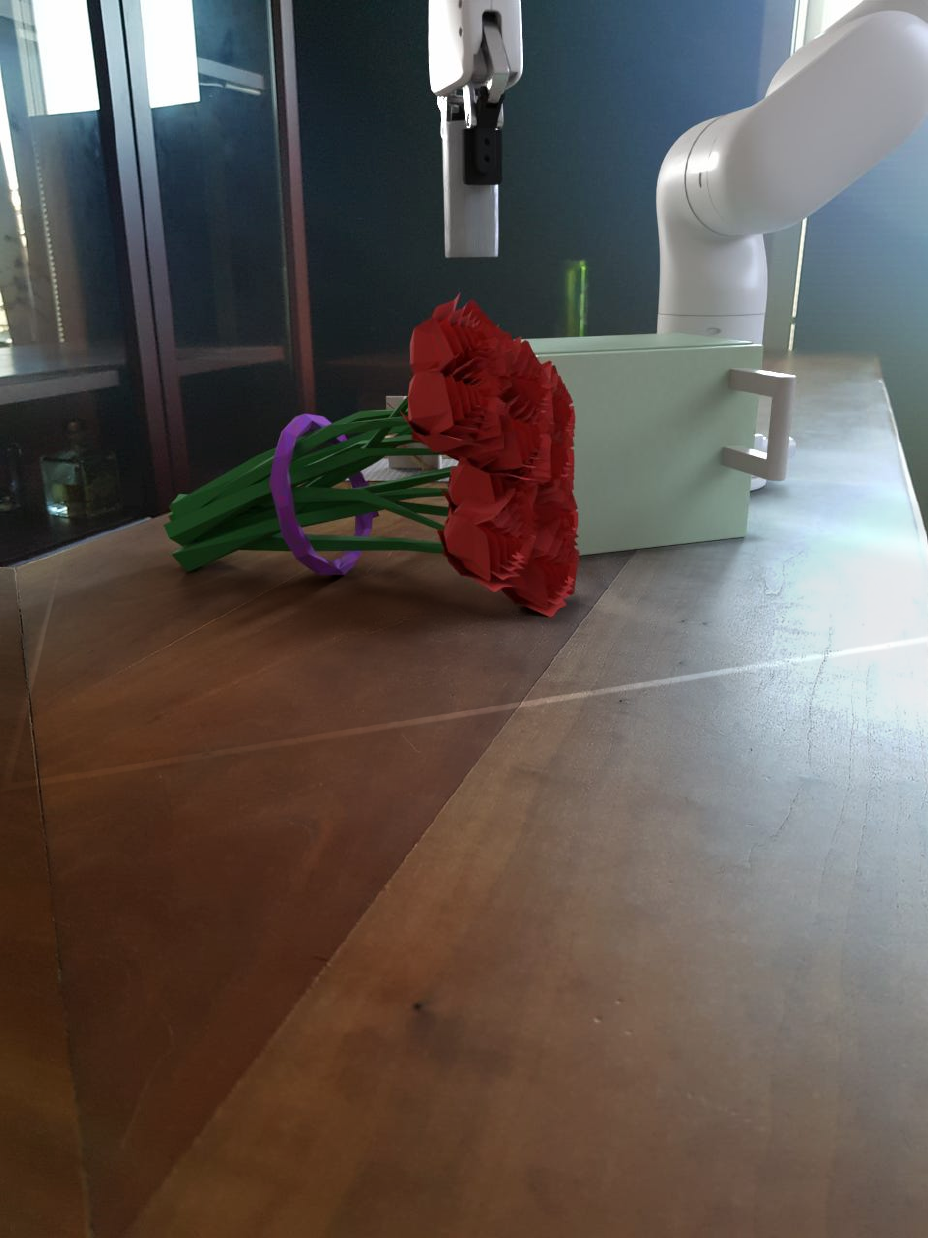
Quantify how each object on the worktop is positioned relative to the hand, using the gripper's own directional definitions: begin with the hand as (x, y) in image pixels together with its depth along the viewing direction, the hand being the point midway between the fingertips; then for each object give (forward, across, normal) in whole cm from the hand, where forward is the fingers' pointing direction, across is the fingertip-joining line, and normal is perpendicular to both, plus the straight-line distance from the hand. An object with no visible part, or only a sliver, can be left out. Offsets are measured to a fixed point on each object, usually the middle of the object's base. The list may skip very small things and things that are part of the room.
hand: (471, 184), depth 79 cm
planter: (+6, 0, 0) cm, 6 cm away
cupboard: (+26, -15, -6) cm, 31 cm away
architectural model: (+27, +14, +2) cm, 30 cm away
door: (+26, -24, -6) cm, 36 cm away
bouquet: (+27, -21, +16) cm, 38 cm away
